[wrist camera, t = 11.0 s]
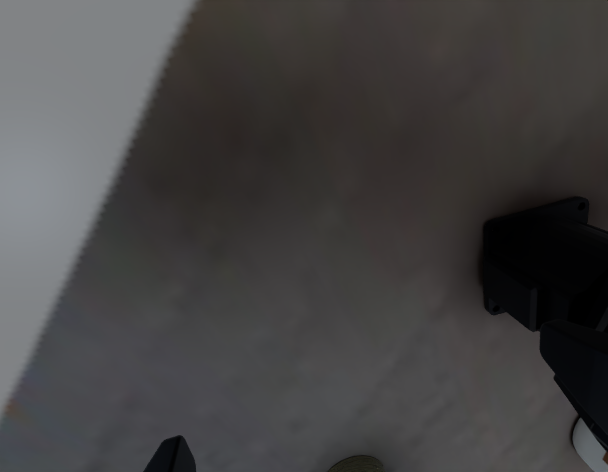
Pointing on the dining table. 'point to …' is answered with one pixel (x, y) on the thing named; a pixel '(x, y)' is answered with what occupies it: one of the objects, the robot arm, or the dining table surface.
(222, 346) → the dining table surface
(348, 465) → the olive pillar candle
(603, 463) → the milk bottle
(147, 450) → the dining table surface
